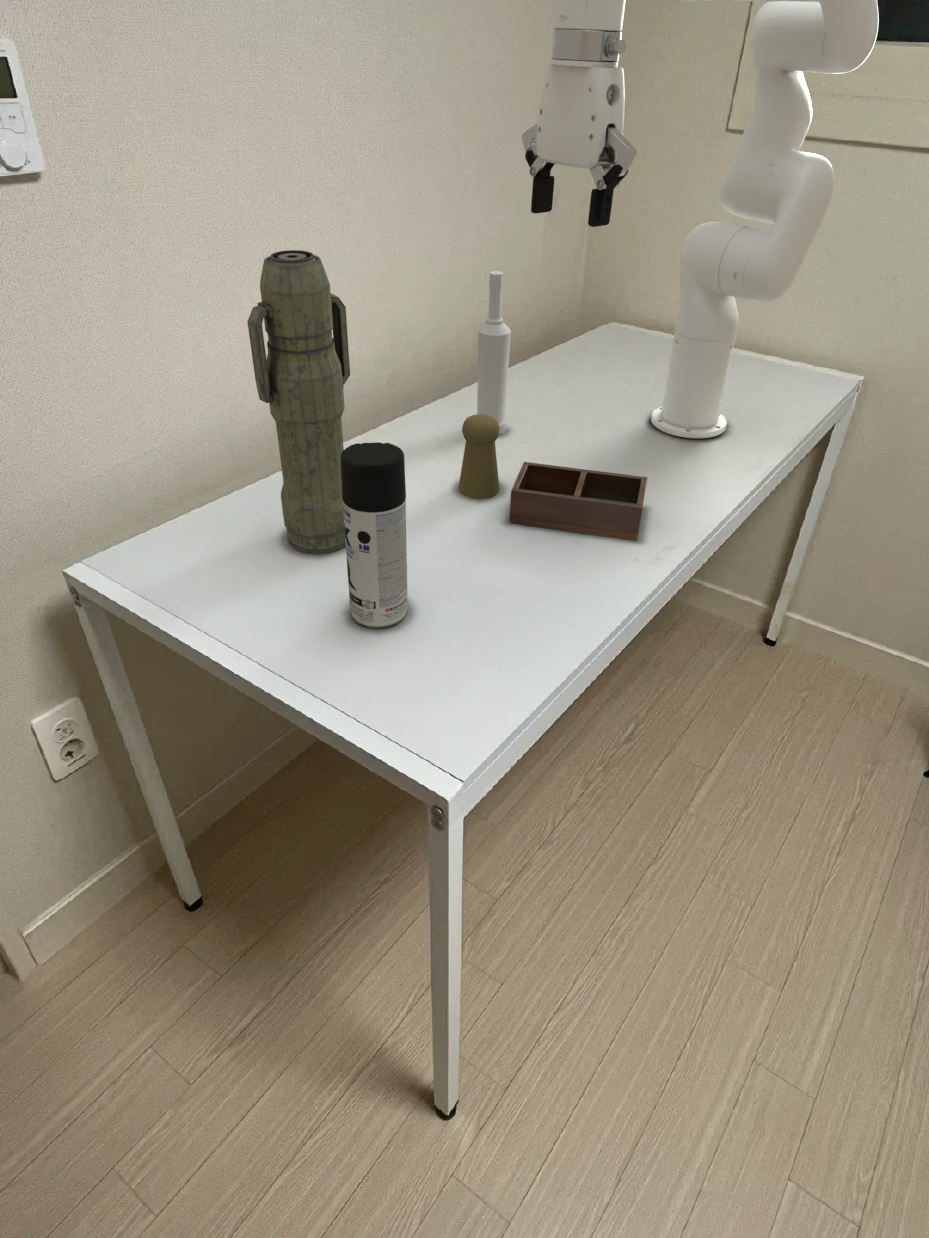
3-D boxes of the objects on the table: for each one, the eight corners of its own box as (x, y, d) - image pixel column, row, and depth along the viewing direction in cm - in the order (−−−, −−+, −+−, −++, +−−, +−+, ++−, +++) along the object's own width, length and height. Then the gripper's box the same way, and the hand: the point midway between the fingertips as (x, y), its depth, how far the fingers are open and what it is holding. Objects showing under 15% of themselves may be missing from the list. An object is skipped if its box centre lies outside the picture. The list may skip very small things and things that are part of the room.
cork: (504, 483, 123) (508, 413, 116) (492, 501, 118) (495, 429, 111) (466, 476, 124) (467, 407, 118) (452, 494, 120) (453, 422, 113)
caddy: (521, 493, 120) (523, 461, 117) (642, 509, 117) (647, 477, 114) (509, 523, 113) (511, 490, 110) (637, 541, 110) (642, 507, 107)
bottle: (503, 438, 136) (510, 278, 121) (472, 435, 136) (476, 276, 122) (508, 425, 140) (516, 269, 125) (478, 422, 140) (482, 267, 126)
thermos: (376, 531, 111) (361, 253, 90) (307, 566, 103) (273, 272, 83) (332, 509, 115) (308, 240, 94) (264, 541, 108) (221, 257, 87)
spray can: (351, 596, 98) (339, 440, 86) (408, 594, 99) (404, 439, 87) (349, 630, 93) (336, 468, 81) (410, 628, 94) (405, 467, 82)
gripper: (668, 54, 89) (643, 228, 99) (553, 48, 99) (541, 205, 109) (622, 53, 85) (601, 234, 95) (508, 46, 95) (499, 210, 105)
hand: (569, 218), depth 102 cm, fingers open, 9 cm apart
